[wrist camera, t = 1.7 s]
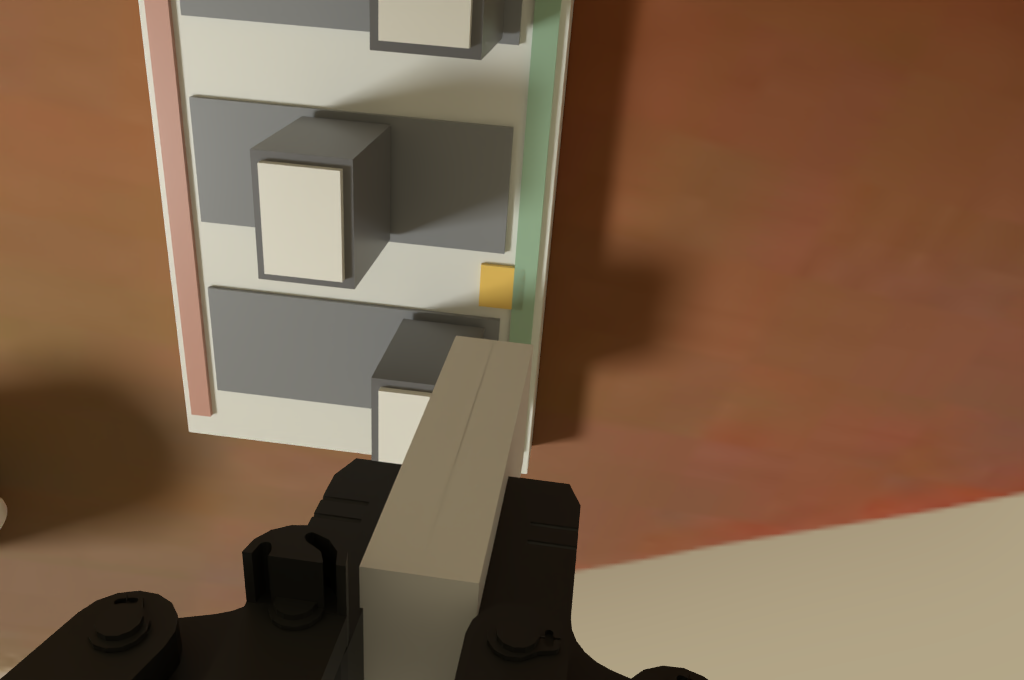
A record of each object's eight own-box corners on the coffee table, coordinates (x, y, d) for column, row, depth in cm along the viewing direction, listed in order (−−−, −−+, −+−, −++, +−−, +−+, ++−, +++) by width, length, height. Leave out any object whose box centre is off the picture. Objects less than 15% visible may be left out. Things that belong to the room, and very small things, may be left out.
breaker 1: (306, 230, 30) (255, 281, 26) (302, 116, 28) (246, 150, 24) (390, 239, 30) (352, 292, 26) (391, 124, 28) (350, 161, 24)
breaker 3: (402, 412, 33) (369, 484, 29) (403, 318, 31) (369, 381, 27) (478, 421, 33) (457, 496, 29) (484, 327, 31) (462, 392, 27)
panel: (209, 407, 37) (186, 434, 35) (113, -525, 24) (67, -566, 22) (531, 446, 36) (526, 477, 34) (622, -504, 23) (621, -543, 21)
